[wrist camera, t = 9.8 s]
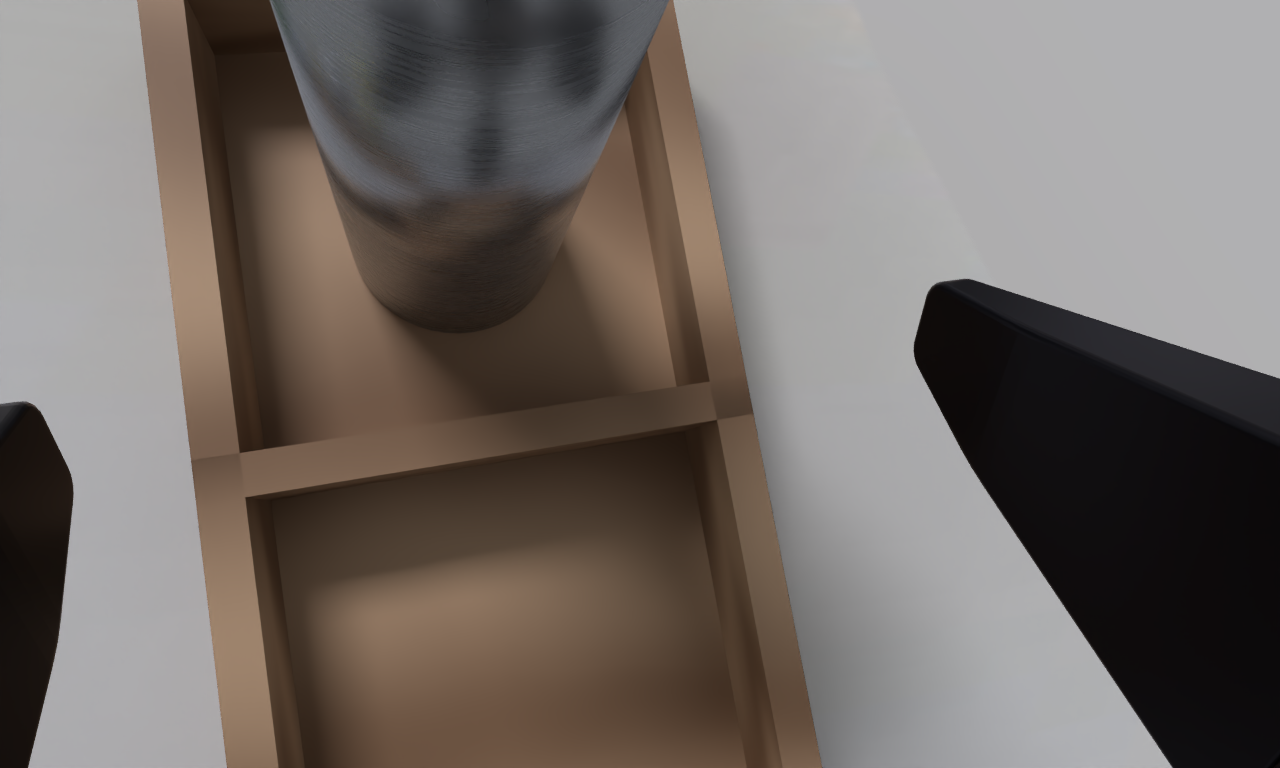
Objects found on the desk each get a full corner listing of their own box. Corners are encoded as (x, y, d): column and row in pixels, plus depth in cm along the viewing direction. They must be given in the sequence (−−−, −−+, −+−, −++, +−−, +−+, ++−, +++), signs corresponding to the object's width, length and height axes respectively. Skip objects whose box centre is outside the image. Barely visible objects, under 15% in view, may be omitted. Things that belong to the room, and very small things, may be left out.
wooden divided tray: (785, 849, 20) (849, 910, 17) (298, 996, 17) (266, 1101, 14) (630, 23, 22) (661, -58, 19) (180, 42, 19) (131, -48, 16)
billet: (593, 235, 20) (805, -153, 8) (461, 374, 19) (496, 143, 7) (449, 103, 20) (463, -489, 8) (304, 235, 19) (84, -237, 7)
